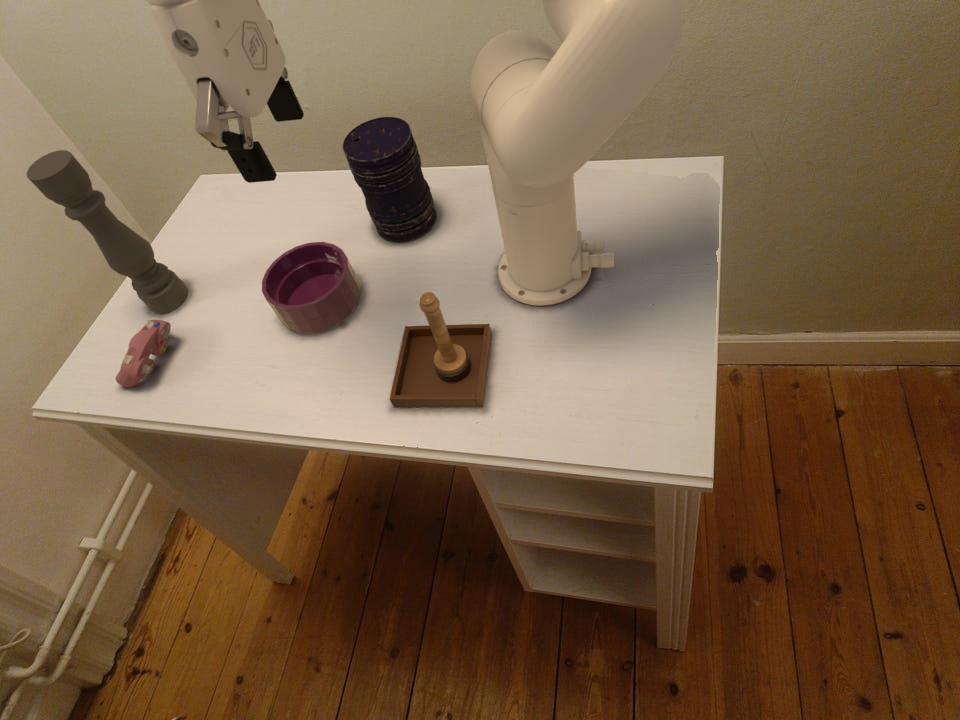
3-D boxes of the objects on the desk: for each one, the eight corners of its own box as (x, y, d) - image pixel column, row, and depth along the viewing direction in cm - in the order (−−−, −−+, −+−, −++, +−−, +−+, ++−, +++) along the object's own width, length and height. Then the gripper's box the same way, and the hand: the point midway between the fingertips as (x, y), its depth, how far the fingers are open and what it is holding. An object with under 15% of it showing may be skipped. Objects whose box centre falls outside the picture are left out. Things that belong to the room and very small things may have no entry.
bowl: (369, 269, 90) (356, 239, 86) (351, 335, 83) (335, 306, 79) (294, 272, 93) (276, 244, 88) (270, 337, 86) (250, 310, 81)
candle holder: (196, 288, 95) (83, 152, 75) (170, 317, 92) (46, 184, 72) (167, 280, 97) (51, 146, 77) (141, 308, 94) (14, 177, 74)
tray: (491, 333, 79) (489, 323, 78) (483, 407, 73) (480, 399, 71) (409, 335, 82) (405, 326, 80) (394, 407, 75) (389, 399, 74)
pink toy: (148, 397, 86) (139, 374, 80) (115, 387, 85) (103, 363, 79) (181, 340, 91) (174, 315, 85) (150, 331, 90) (141, 304, 85)
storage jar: (441, 197, 97) (416, 112, 85) (433, 241, 91) (405, 157, 79) (381, 202, 99) (349, 120, 87) (370, 245, 93) (334, 164, 81)
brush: (475, 355, 77) (452, 283, 66) (465, 384, 75) (440, 315, 64) (442, 351, 78) (414, 280, 68) (432, 380, 76) (401, 311, 65)
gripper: (180, 11, 42) (286, 203, 56) (257, -91, 52) (332, 94, 66) (88, 25, 44) (213, 209, 58) (180, -76, 54) (268, 102, 67)
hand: (276, 148), depth 62 cm, fingers open, 9 cm apart
